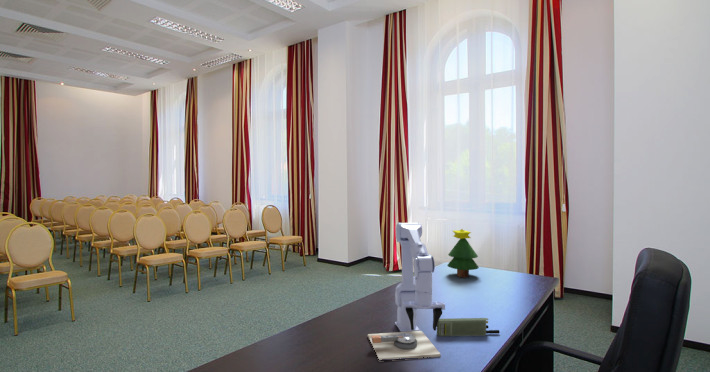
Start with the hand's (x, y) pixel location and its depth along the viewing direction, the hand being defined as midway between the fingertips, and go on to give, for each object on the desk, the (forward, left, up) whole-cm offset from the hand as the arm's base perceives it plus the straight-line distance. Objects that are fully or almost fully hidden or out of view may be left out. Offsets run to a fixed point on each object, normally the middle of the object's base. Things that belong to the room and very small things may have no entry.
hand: (423, 329), depth 132 cm
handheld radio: (-15, +24, -10) cm, 30 cm away
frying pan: (-8, -9, -7) cm, 14 cm away
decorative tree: (-99, +61, -10) cm, 117 cm away
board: (-9, -5, -10) cm, 14 cm away
